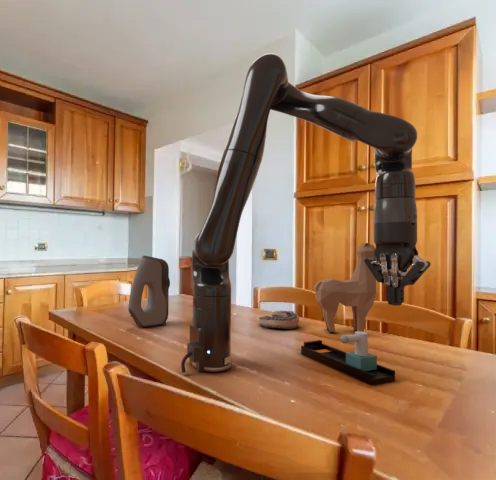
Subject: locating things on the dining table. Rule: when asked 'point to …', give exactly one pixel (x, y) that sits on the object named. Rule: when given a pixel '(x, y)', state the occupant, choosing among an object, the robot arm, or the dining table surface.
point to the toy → (349, 292)
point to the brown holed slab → (150, 292)
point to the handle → (360, 352)
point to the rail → (338, 362)
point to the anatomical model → (280, 320)
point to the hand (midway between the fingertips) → (395, 304)
